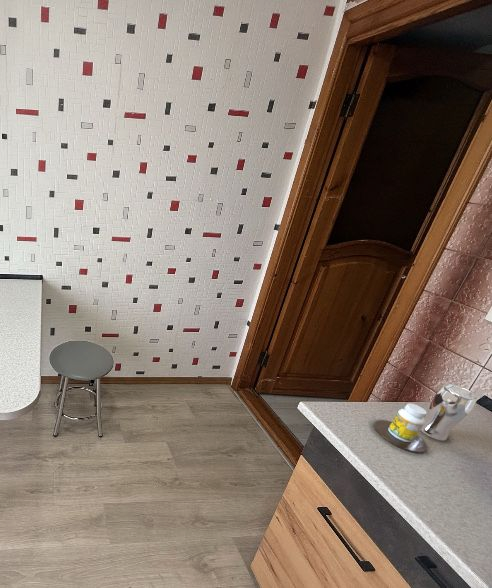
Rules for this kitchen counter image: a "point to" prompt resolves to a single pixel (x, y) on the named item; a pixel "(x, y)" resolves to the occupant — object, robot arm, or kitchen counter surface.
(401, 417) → the supplement bottle
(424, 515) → the kitchen counter surface
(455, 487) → the kitchen counter surface
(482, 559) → the kitchen counter surface
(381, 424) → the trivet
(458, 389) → the beer glass
